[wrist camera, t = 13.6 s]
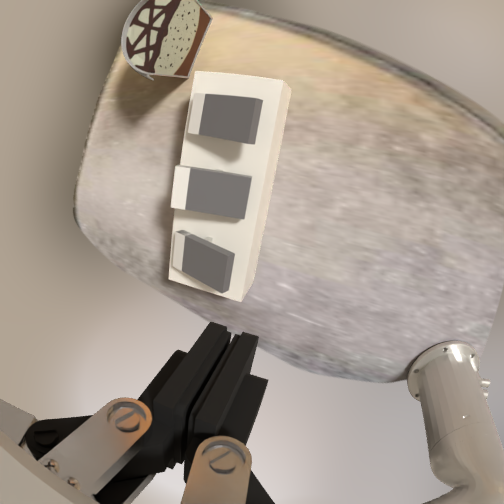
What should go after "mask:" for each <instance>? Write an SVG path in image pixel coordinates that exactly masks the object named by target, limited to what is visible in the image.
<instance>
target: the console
mask: <svg viewBox="0 0 504 504" xmlns="http://www.w3.org/2000/svg"><path fill="white" fill-rule="evenodd" d="M291 91H292V89H291V88H290V87H289V86H288V85H287V84H286V83H285V81H284V80H278V79H271V78H264V77H257V76H249V75H240V74H230V73H219V72H205V71H195V76H194V81H193V86H192V92H191V97H190V103H189V109H188V115H187V121H186V127H185V134H184V140H183V147H182V154H181V161H180V165H184V166H191V167H198V168H205V169H211V170H218V171H224V172H230V173H236V174H242V175H248V176H252V180H251V186H250V191H249V197H248V202H247V208H246V213H245V219H238V218H232V217H226V216H220V215H214V214H208V213H202V212H196V211H190V210H183V209H177V208H175V211H174V221H173V231H172V242H171V254H170V267H169V280H173V281H176V282H179V283H182V284H185V285H188V286H191V287H194V288H197V289H200V290H204V291H207V292H210V293H213V294H216V295H220V296H223V297H226V298H229V299H233V300H236V301H239V302H241V301H242V300H243V298H244V296H245V295H246V293H247V292H248V290H249V288H250V287H251V285H252V284H253V282H254V277H255V272H256V267H257V262H258V257H259V252H260V247H261V242H262V237H263V233H264V228H265V223H266V218H267V213H268V208H269V203H270V198H271V193H272V188H273V183H274V177H275V172H276V167H277V162H278V157H279V152H280V147H281V142H282V137H283V132H284V127H285V122H286V116H287V111H288V106H289V101H290V96H291ZM194 93H204V94H219V95H231V96H242V97H251V98H258V99H261V100H263V104H262V109H261V114H260V120H259V125H258V130H257V136H256V141H255V145H254V144H245V143H241V142H236V141H231V140H225V139H220V138H215V137H209V136H204V135H198V134H192V133H188V128H189V122H190V116H191V110H192V104H193V98H194ZM180 230H185V231H187V232H189V233H192V234H194V235H196V236H198V237H200V238H202V239H204V240H207V241H209V242H211V243H213V244H215V245H218V246H220V247H222V248H224V249H226V250H228V251H231V252H233V253H235V257H234V263H233V269H232V275H231V281H230V287H229V290H228V291H226V292H224V293H220V292H218V291H216V290H215V289H213V288H211V287H209V286H207V285H206V284H204V283H202V282H200V281H198V280H197V279H195V278H193V277H191V276H190V275H188V274H186V273H184V272H183V271H181V270H179V269H177V268H175V267H174V266H173V255H174V244H175V233H176V231H180Z"/></svg>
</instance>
